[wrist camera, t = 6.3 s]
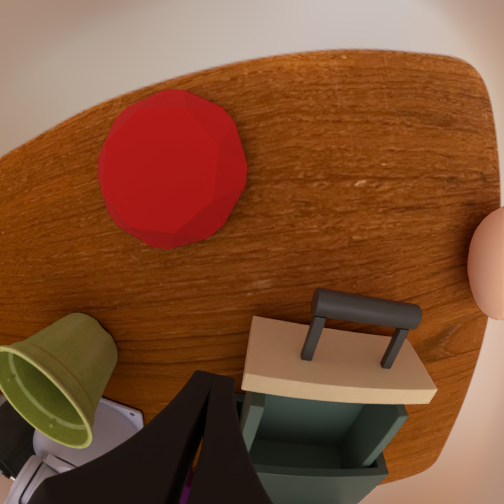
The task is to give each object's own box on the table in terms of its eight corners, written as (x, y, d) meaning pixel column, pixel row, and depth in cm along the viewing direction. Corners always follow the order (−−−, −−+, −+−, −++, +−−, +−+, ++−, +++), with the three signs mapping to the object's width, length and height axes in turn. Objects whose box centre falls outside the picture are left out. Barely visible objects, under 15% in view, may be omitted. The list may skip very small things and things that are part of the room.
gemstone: (204, 264, 19) (191, 282, 16) (94, 200, 18) (69, 206, 15) (275, 137, 16) (274, 130, 13) (150, 79, 16) (129, 66, 13)
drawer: (266, 254, 18) (261, 298, 12) (429, 286, 18) (471, 329, 12) (227, 429, 23) (218, 481, 17) (347, 442, 23) (356, 490, 17)
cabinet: (228, 390, 22) (213, 465, 15) (370, 407, 22) (388, 474, 15) (213, 466, 27) (202, 520, 19) (320, 478, 27) (324, 530, 19)
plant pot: (39, 287, 21) (-26, 333, 13) (125, 299, 21) (61, 369, 12) (65, 370, 24) (21, 424, 16) (145, 390, 23) (108, 463, 15)
